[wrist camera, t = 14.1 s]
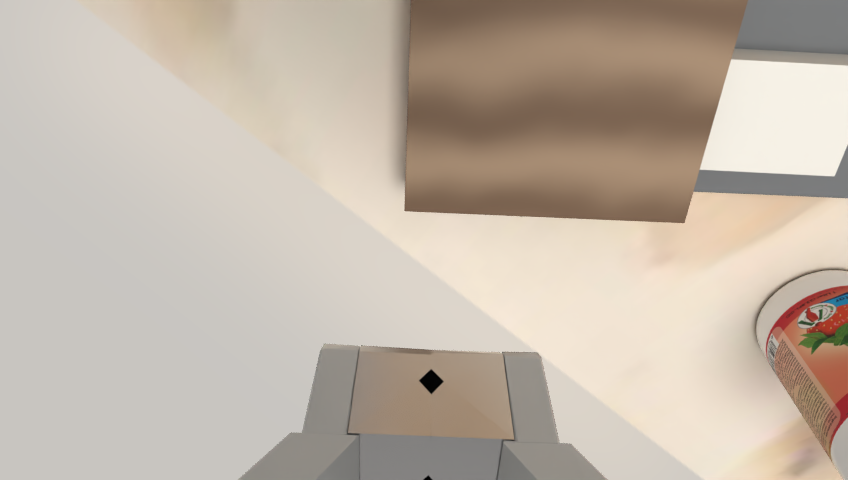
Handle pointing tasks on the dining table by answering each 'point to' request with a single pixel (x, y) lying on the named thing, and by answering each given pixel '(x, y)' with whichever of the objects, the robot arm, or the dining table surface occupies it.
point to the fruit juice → (812, 354)
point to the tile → (781, 114)
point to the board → (564, 105)
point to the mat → (796, 32)
